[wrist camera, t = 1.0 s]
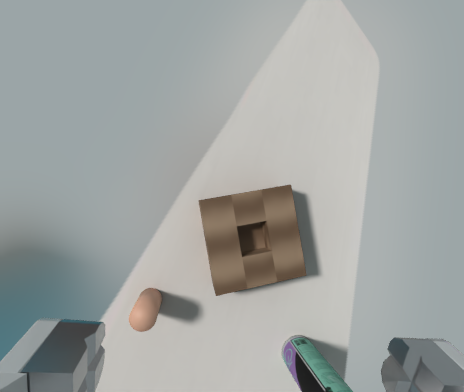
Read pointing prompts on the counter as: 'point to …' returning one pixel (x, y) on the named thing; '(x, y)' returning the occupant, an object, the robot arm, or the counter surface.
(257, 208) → the bore block
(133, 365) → the counter surface
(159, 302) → the pin
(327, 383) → the spray can
